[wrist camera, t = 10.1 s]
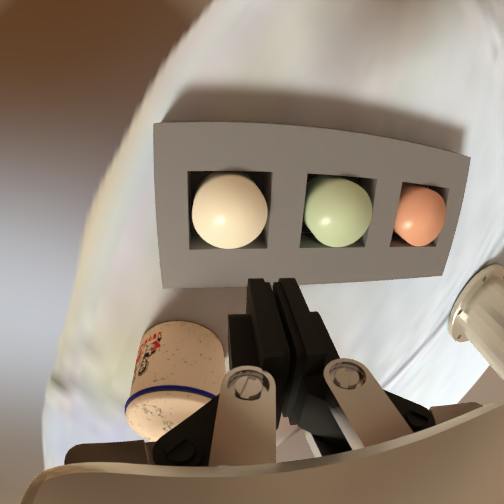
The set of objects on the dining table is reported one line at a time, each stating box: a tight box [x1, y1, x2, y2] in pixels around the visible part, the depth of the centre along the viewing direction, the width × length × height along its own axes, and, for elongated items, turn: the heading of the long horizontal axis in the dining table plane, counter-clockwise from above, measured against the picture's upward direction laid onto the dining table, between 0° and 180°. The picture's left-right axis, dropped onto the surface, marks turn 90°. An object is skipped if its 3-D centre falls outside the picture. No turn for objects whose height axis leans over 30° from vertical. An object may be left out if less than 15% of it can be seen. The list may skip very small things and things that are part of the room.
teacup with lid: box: [125, 321, 226, 442], centre depth 25 cm, size 12×9×12 cm
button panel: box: [153, 121, 471, 288], centre depth 23 cm, size 26×12×3 cm, turn 87°
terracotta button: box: [393, 182, 446, 247], centre depth 24 cm, size 5×5×3 cm
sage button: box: [303, 174, 372, 247], centre depth 23 cm, size 5×5×3 cm
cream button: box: [192, 171, 267, 249], centre depth 21 cm, size 5×5×3 cm
